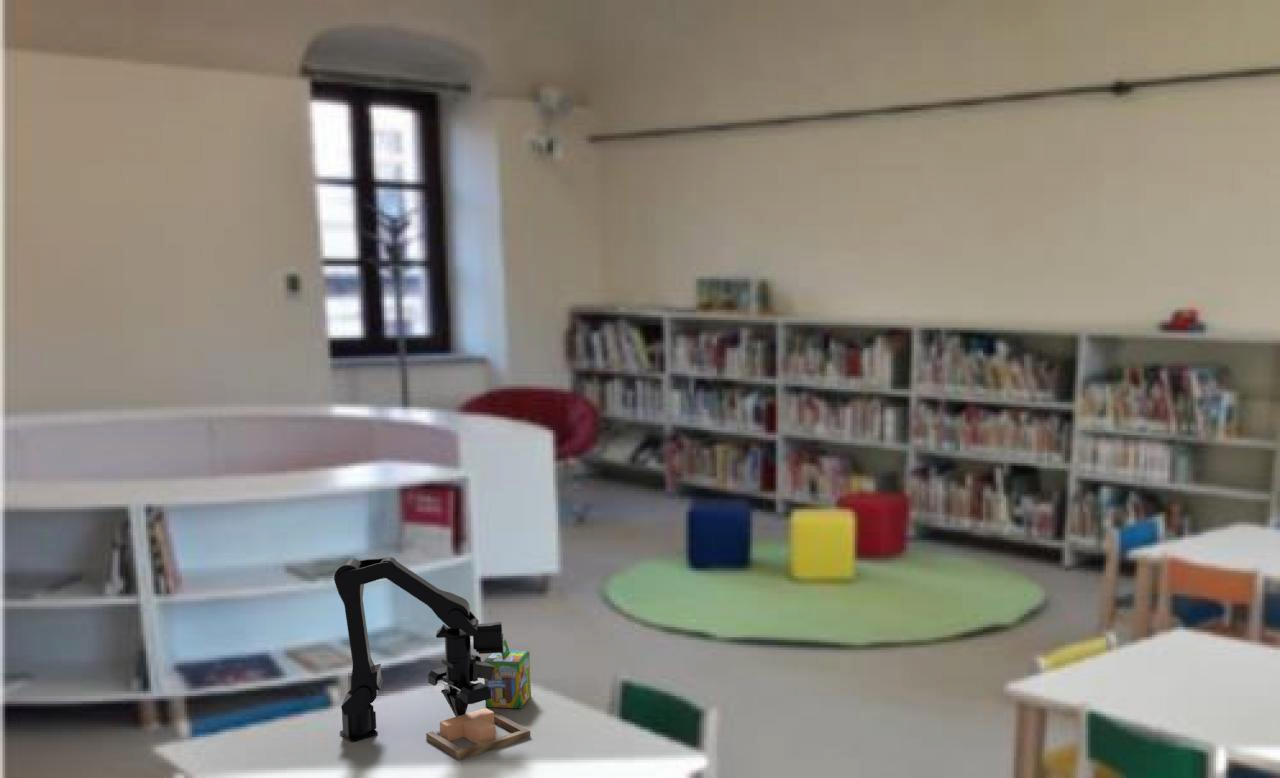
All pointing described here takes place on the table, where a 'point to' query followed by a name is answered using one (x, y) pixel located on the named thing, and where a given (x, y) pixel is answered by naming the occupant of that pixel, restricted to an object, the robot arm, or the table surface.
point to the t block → (470, 726)
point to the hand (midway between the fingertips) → (460, 721)
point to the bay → (460, 754)
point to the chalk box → (509, 678)
